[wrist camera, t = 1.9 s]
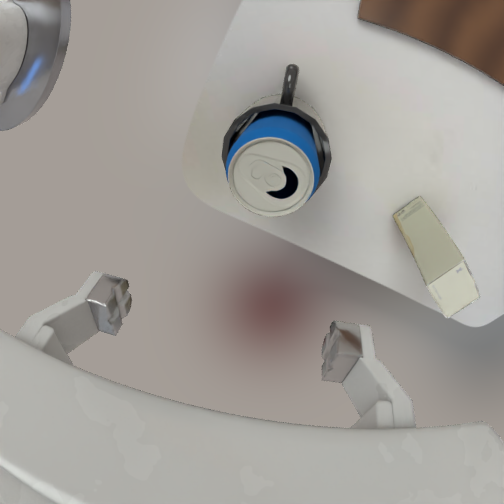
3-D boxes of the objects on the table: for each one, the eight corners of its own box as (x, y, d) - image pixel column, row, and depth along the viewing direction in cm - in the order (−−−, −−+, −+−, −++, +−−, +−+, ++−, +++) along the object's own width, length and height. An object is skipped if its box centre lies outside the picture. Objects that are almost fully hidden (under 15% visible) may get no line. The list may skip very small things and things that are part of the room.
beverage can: (292, 176, 31) (287, 237, 22) (238, 146, 30) (206, 194, 21) (325, 126, 28) (340, 165, 18) (268, 93, 27) (249, 112, 17)
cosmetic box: (391, 214, 32) (422, 284, 22) (421, 193, 30) (465, 257, 20) (415, 249, 34) (445, 321, 25) (442, 230, 32) (481, 298, 22)
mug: (313, 181, 32) (316, 214, 26) (234, 165, 32) (217, 194, 26) (338, 74, 25) (351, 77, 18) (250, 57, 25) (234, 55, 19)
